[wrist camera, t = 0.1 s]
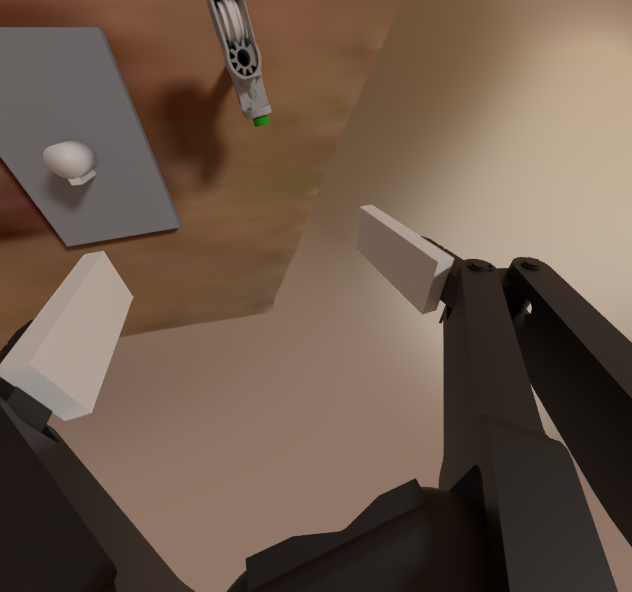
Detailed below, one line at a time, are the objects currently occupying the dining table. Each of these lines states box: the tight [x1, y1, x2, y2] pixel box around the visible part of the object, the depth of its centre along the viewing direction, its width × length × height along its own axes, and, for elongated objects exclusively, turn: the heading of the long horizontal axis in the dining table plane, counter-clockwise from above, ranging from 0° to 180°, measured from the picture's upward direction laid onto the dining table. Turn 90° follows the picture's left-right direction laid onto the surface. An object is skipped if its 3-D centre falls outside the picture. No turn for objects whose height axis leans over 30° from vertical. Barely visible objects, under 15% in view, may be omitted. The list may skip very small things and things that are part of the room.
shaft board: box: [0, 27, 181, 246], centre depth 27 cm, size 20×14×6 cm
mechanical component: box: [206, 0, 272, 127], centre depth 26 cm, size 3×10×10 cm, turn 13°
